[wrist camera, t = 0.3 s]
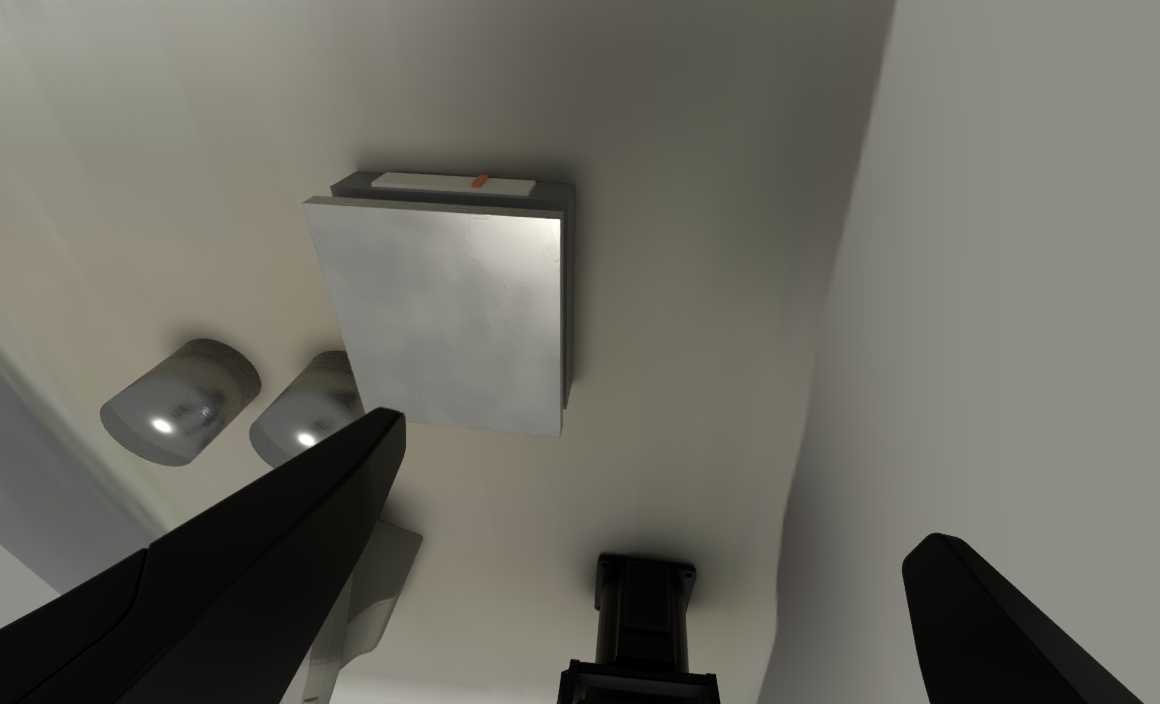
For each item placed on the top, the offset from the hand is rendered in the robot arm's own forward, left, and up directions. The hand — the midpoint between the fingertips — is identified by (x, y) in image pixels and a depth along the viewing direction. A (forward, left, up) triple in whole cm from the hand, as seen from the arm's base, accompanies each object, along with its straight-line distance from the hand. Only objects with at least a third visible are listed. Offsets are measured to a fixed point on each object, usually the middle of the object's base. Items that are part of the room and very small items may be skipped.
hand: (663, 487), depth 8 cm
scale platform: (-4, +8, -11) cm, 14 cm away
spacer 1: (-11, +23, -14) cm, 29 cm away
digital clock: (-27, +19, -14) cm, 36 cm away
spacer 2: (-11, +16, -14) cm, 24 cm away
